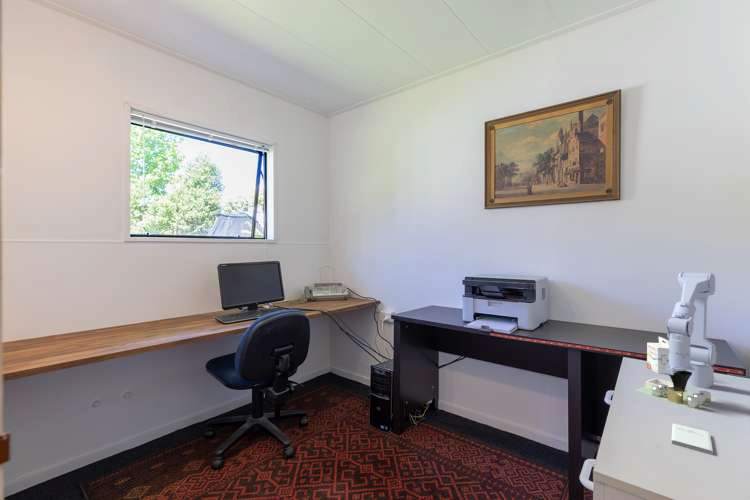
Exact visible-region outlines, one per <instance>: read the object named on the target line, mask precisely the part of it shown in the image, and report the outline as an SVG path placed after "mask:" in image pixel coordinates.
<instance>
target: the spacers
mask: <svg viewBox="0 0 750 500" xmlns="http://www.w3.org/2000/svg"><path fill="white" fill-rule="evenodd" d="M667 387H668V385H665V384H658V386H655V385H653V386H652V395H653V396H652V397H654V396H656V397H655V398H657V397H663V395H667ZM711 397H712V393H711V392H709V391H706V390H698V393H696V392H694V393H693V396H687V406H688V407H690V408H689V409H691V408H695V409H697V410H699V409H700V408H699V405H700V406H703V407H706V405H705V403H710V404H712V403H711ZM688 407H687V408H688ZM695 409H694V410H695Z"/></svg>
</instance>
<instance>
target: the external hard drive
mask: <svg viewBox="0 0 750 500" xmlns="http://www.w3.org/2000/svg"><path fill="white" fill-rule="evenodd" d="M671 428H672V429H671V444H672V445H674V446H675V445H676V446H679V447H681V448H682V447H683V448H687V449H690V450H693V451H697V452H700V453H704V454H707V455H711V456H714V450H713V444H712V443H713V442H712V437H711V433H710V432H709V431H707V430H703V429H699V428H693V427H690V426H686V425H682V424H679V423H672V426H671Z"/></svg>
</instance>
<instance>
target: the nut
mask: <svg viewBox="0 0 750 500" xmlns="http://www.w3.org/2000/svg"><path fill="white" fill-rule="evenodd" d="M667 400H668V401H667V402H669V401H671V402H670V403H672V402H674V403H673V404H676V403H683V390H682V389H679V388H676V387H667Z"/></svg>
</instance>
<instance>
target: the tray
mask: <svg viewBox="0 0 750 500" xmlns="http://www.w3.org/2000/svg"><path fill="white" fill-rule="evenodd" d="M658 384H665V385H668V387H674V386H673V382H672V381H669V380H665V379H661V378H658V377H655V378H651V379H648V380H646V381H645V382H644V386H646V387H650V388H652V386H653V385H655V386H658Z"/></svg>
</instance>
